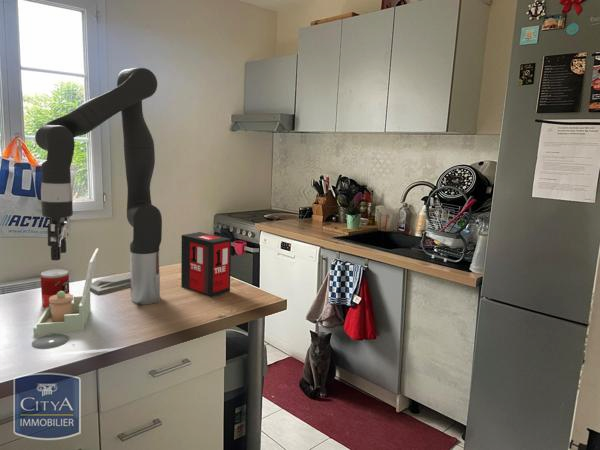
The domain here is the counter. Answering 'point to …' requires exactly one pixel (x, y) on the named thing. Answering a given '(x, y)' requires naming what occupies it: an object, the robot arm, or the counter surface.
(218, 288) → the cleaning product box
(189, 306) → the counter surface
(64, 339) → the slate saucer
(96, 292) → the soap mold
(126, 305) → the counter surface
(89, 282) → the glass lid
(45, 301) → the canned food
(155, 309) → the counter surface
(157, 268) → the robot arm
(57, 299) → the terracotta pot
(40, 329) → the box
